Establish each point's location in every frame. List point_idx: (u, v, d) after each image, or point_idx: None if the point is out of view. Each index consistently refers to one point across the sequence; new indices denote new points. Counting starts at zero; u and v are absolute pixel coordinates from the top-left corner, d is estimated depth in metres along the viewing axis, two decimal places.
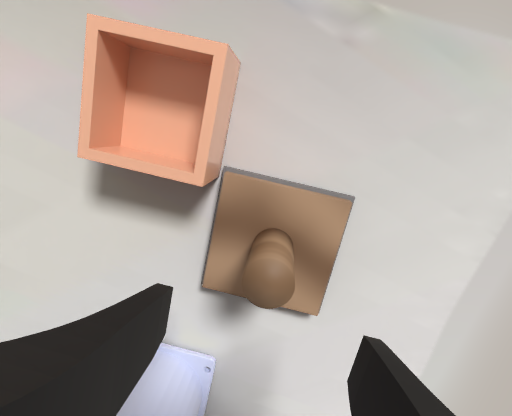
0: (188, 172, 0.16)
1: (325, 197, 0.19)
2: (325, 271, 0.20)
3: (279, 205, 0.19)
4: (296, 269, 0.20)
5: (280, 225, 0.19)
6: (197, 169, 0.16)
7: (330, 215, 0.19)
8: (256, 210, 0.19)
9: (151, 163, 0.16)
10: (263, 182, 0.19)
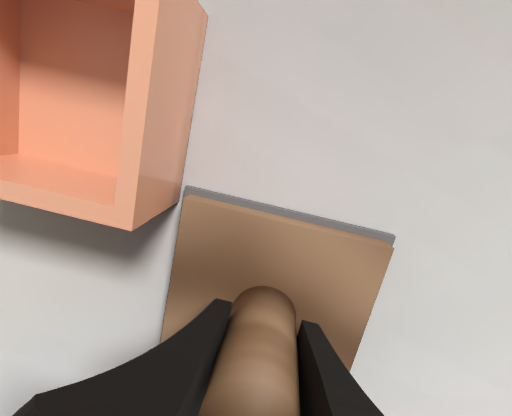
0: (105, 205, 0.09)
1: (349, 239, 0.11)
2: (347, 353, 0.12)
3: (273, 250, 0.12)
4: None
5: (275, 281, 0.12)
6: (120, 200, 0.09)
7: (356, 267, 0.12)
8: (236, 258, 0.12)
9: (38, 188, 0.09)
10: (247, 214, 0.12)
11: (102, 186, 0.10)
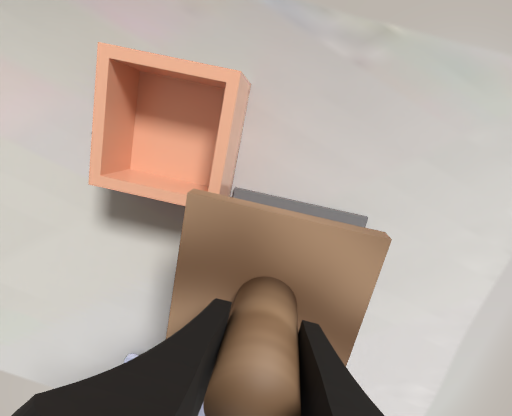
0: None
1: (347, 230, 0.12)
2: (346, 340, 0.13)
3: (274, 242, 0.12)
4: None
5: (276, 272, 0.12)
6: None
7: (355, 258, 0.12)
8: (239, 249, 0.12)
9: (163, 190, 0.16)
10: (249, 207, 0.12)
11: (190, 188, 0.18)
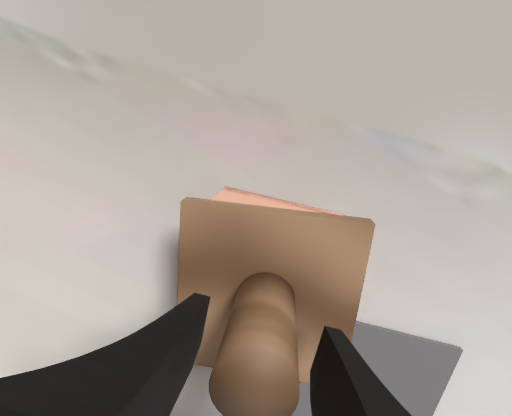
0: None
1: (333, 220, 0.12)
2: (346, 325, 0.14)
3: (266, 239, 0.13)
4: (303, 326, 0.14)
5: (272, 267, 0.13)
6: None
7: (344, 245, 0.13)
8: (234, 249, 0.13)
9: None
10: (239, 208, 0.13)
11: None
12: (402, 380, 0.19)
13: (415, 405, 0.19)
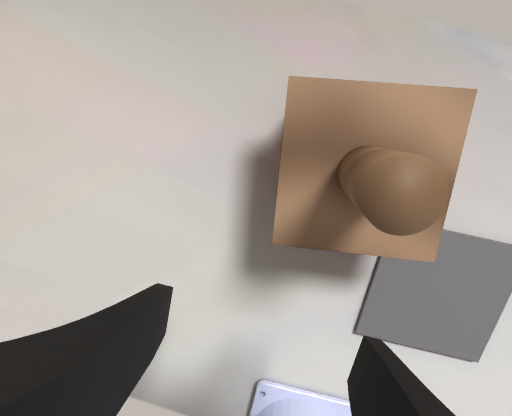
0: None
1: (436, 87, 0.13)
2: None
3: (370, 110, 0.14)
4: None
5: (373, 140, 0.14)
6: None
7: (445, 113, 0.13)
8: (338, 123, 0.14)
9: None
10: (344, 81, 0.14)
11: None
12: (470, 283, 0.20)
13: (482, 309, 0.20)
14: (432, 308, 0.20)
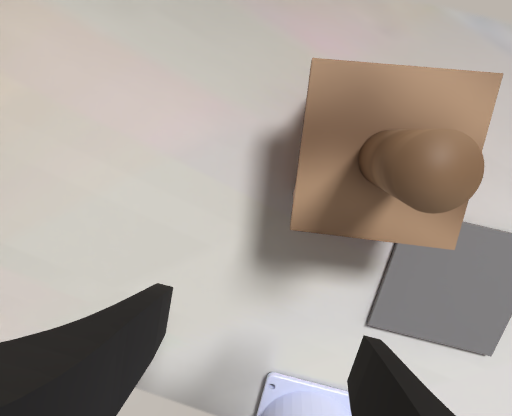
0: None
1: (461, 71, 0.13)
2: None
3: (394, 94, 0.14)
4: None
5: (396, 124, 0.14)
6: None
7: (470, 97, 0.13)
8: (361, 107, 0.14)
9: None
10: (369, 63, 0.13)
11: None
12: (485, 276, 0.20)
13: (497, 302, 0.20)
14: (446, 301, 0.20)
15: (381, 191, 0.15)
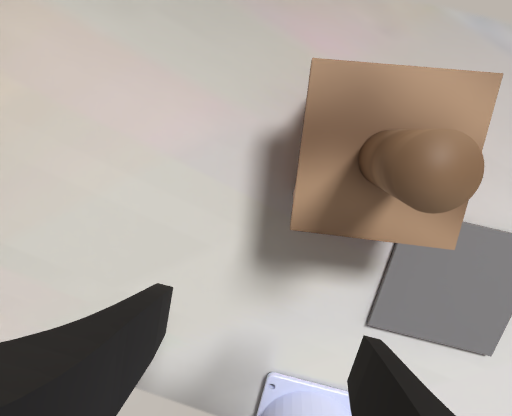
0: None
1: (461, 71, 0.13)
2: None
3: (394, 94, 0.14)
4: None
5: (396, 124, 0.14)
6: None
7: (470, 97, 0.13)
8: (361, 107, 0.14)
9: None
10: (369, 63, 0.13)
11: None
12: (485, 276, 0.20)
13: (497, 302, 0.20)
14: (446, 301, 0.20)
15: (381, 191, 0.15)
